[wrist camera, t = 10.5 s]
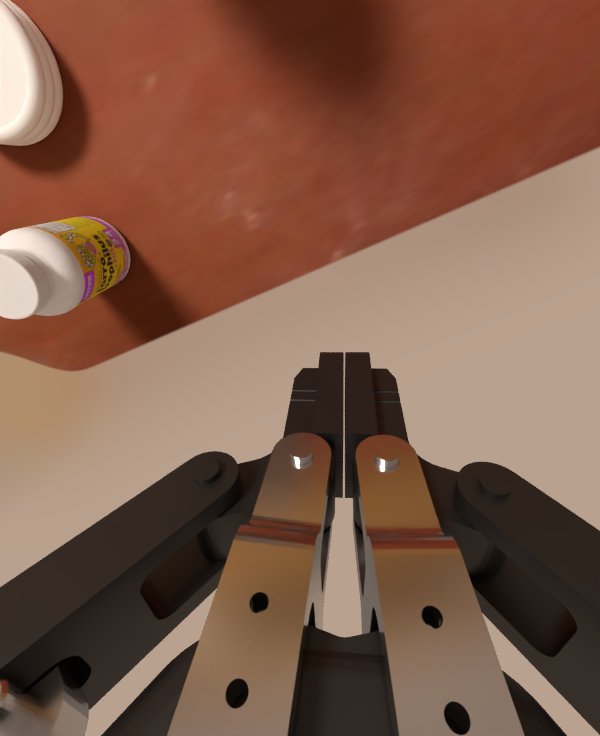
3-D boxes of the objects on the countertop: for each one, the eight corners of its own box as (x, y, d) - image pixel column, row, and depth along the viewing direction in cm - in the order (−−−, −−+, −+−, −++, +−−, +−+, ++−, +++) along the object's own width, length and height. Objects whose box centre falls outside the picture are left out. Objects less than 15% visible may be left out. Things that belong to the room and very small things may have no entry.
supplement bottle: (136, 287, 38) (62, 338, 27) (72, 280, 38) (-31, 328, 26) (129, 218, 35) (40, 243, 23) (58, 210, 34) (-66, 231, 23)
